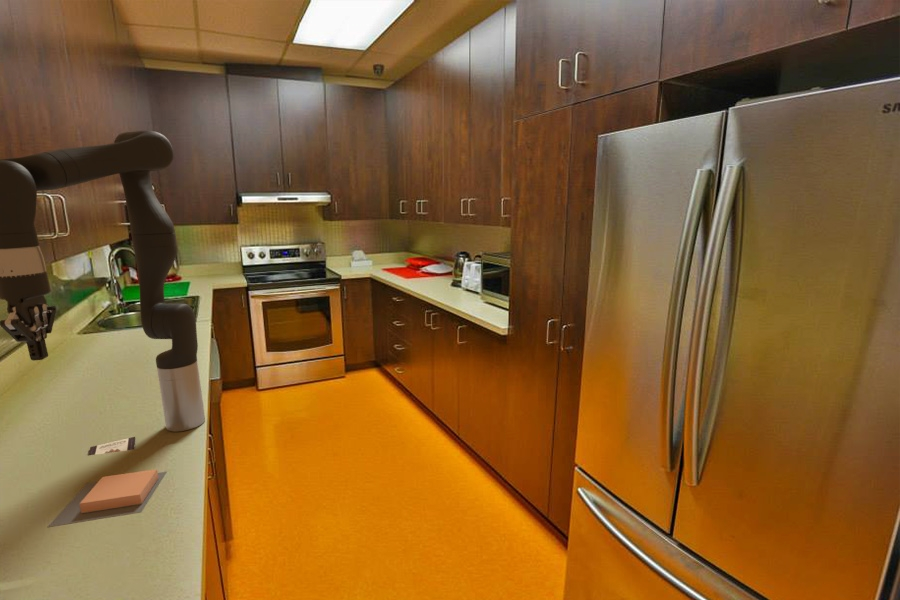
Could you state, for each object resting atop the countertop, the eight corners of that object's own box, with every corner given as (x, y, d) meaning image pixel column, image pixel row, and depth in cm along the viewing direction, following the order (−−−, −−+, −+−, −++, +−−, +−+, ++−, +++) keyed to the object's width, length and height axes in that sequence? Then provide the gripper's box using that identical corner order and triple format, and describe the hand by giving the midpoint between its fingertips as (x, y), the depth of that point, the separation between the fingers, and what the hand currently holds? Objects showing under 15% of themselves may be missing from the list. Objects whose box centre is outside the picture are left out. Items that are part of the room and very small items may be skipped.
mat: (87, 486, 95) (87, 482, 95) (167, 474, 99) (167, 471, 99) (48, 530, 82) (47, 527, 82) (141, 515, 85) (141, 512, 85)
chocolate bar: (80, 483, 96) (90, 447, 110) (80, 487, 96) (91, 450, 111) (131, 469, 100) (134, 436, 115) (132, 473, 100) (135, 440, 115)
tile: (102, 476, 93) (157, 469, 96) (104, 486, 94) (158, 478, 96) (79, 503, 85) (140, 494, 87) (81, 513, 85) (141, 504, 87)
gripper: (20, 275, 80) (41, 368, 83) (63, 265, 92) (80, 346, 96) (-32, 278, 78) (-8, 373, 82) (19, 267, 90) (38, 350, 94)
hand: (40, 358), depth 89 cm, fingers closed
